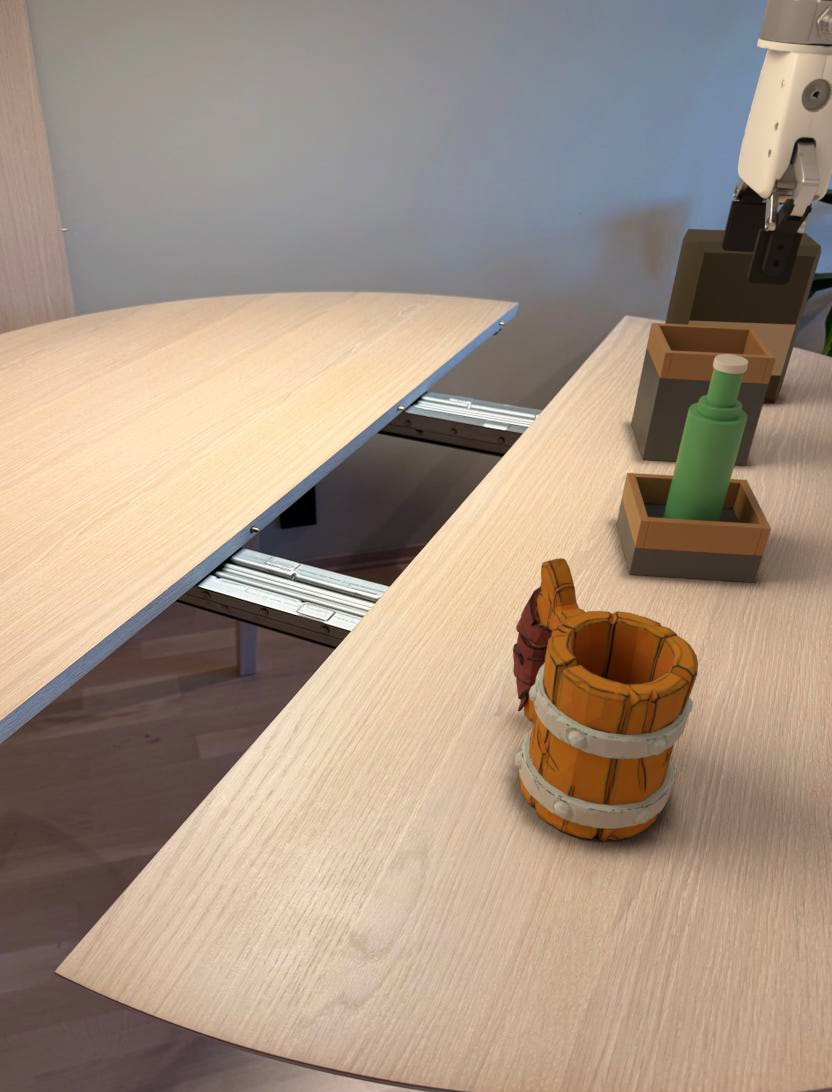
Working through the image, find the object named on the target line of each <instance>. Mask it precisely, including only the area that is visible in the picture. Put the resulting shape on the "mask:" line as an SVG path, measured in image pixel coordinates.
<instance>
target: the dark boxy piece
mask: <svg viewBox="0 0 832 1092" xmlns="http://www.w3.org/2000/svg"><path fill="white" fill-rule="evenodd" d="M762 202H766V201H762ZM779 206H780V203H778V208H779ZM724 232H725V229H705V228H704V229H702V228H701V229H700V228H688V229H687V231H686V232H685V235H684V236H683V238H682V242H681V247H680V251H679V256H678V261H677V265H676V271H675V275H674V280H673V284H672V289H671V294H670V299H669V303H668V307H667V313H666V317H665V322H664V323H666V324H686V325H707V326H727V327H747V328H755V330H756V331H757V332H758V334H759V335H760V337H761V338H762V339H763V341H764V342H765V344H766V345H767V346H768V348H769V349H770V351H771V352H772V353H773V355H774V356H775V358H776V360H775V363H774V367H773V370H772V374H771V377H770V381H769V385H768V388H767V392H766V395H765V399H764V402H769V403H770V402H771V403H776V402H777V400H778V398H779V395H780V394H781V391H782V388H783V384H784V380H785V377H786V374H787V371H788V367H789V364H790V361H791V358H792V357H791V356H792V354H793V350H794V347H795V343H796V339H797V337H798V333H799V329H800V326H801V322H802V319H803V316H804V314H805V313H804V312H805V309H806V307H807V302H808V300H809V296H810V293H811V289H812V286H813V282H814V279H815V275H816V272H817V269H818V264H819V261H820V258H821V254H822V246H821V244H820V243H818V242H817V241H816V240H815V239H813V238H812V237H811V236H810V235H808V234H807V233H806V232H803V235H802V238H801V242H800V245H799V249H798V252H797V256H796V259H795V263H794V266H793V270H792V273H791V277H790V280H789V282H788V283H787V284H785V285H777V284H759V283H750V282H749V281H748V279H747V275H748V271H749V267H750V263H751V259H752V255H753V252H740V251H725V250H724V249H723V248H722V246H721V244H722V240H723V236H724Z"/></svg>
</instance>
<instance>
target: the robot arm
mask: <svg viewBox="0 0 832 1092" xmlns="http://www.w3.org/2000/svg"><path fill="white" fill-rule="evenodd" d="M763 13H764V14H763V17H762V21H761V27H760V30H759V35H758V39H757V43H756V47H758V48H760V49H767V50H766V54H765V58H764V61H763V63H762V67H761V70H760V72H759V77H758V81H757V84H756V87H755V91H754V95H753V98H752V102H751V106H750V110H749V114H748V118H747V120H746V121H747V122H746V124H745V129H744V133H743V138H742V142H741V146H740V152H739V156H738V163H737V174H738V176H739V178H738V181H737V182H736V185H735V187H734V190H733V197H732V198H733V200H731V203H730V207H729V212H728V215H727V219H726V223H725V228H724V230H725V232H724V236H723V240H722V244H721V246H722V248H723V249H724V250H725V251H740V252H753V255H752V259H751V263H750V267H749V271H748V275H747V279H748V281H749V282H750V283H759V284H777V285H785V284H787V283H788V282H789V280H790V277H791V273H792V270H793V266H794V263H795V259H796V256H797V252H798V249H799V245H800V242H801V238H802V235H803V233H805V230H806V228H807V223H808V216H809V214H811V212H812V210H813V207H812V206H813V203H812V202H818V201H820V200H822V199H823V198H824V197H825V195H826V194H827V193H828V188H829V185H830V182H831V178H832V0H767V1H766V4H765V9H764V12H763ZM762 201H766V202H762ZM778 203H779V204H782V205H781V207H780V209H779V207H778Z"/></svg>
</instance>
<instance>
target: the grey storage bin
mask: <svg viewBox="0 0 832 1092" xmlns="http://www.w3.org/2000/svg"><path fill="white" fill-rule="evenodd" d="M721 354H732V355H737V356H741V357H743V358H745V359H747V360H748V366H747V370H746V371H745V372H744V374H743V378H742V382H741V386H740V390H739V393H738V397H737V400H738V401H740V402H741V403H742V410H743V411H744V412H745V413H746V414H747V421H746V425H745V428H744V432H743V436H742V439H741V443H740V447H739V450H738V454H737V457H736V461H735V465H734V466H746V465H747V462H748V458H749V455H750V451H751V448H752V445H753V441H754V437H755V434H756V431H757V427H758V424H759V420H760V418H761V417H760V416H761V412H762V410H763V406H764V402H765V401H764V399H765V395H766V392H767V388H768V385H769V381H770V377H771V374H772V370H773V367H774V363H775V360H776V358H775V356H774V355H773V353H772V352H771V351H770V349H769V348H768V346H767V345H766V344H765V342H764V341H763V339H762V338H761V337H760V335H759V334H758V332H757V331H756V330H755V328H747V327H727V326H707V325H686V324H666V323H665V322H664V323H663V322H651V323H650V329H649V334H648V339H647V343H646V348H645V353H644V358H643V363H642V368H641V374H640V378H639V383H638V388H637V393H636V399H635V402H634V403H635V404H634V407H633V412H632V413H633V414H632V418H631V421H630V424H631V425H630V426H631V429H632V432H633V435H634V438H635V441H636V444H637V447H638V450H639V454H640V457H641V460H643V461H657V462H658V461H659V462H675V463H676V461H677V457H678V453H679V449H680V444H681V440H682V436H683V432H684V427H685V423H686V419H687V415H688V410H689V407H690V406H691V405H693V404H695V403H698V402H699V399H700V398H701V397H702V396H705V395H707V394H708V390H709V386H710V382H711V378H712V374H713V370H714V367H713V362H714V358H715V357H716V356H717V355H721Z"/></svg>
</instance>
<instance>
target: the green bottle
mask: <svg viewBox="0 0 832 1092" xmlns="http://www.w3.org/2000/svg"><path fill="white" fill-rule="evenodd" d="M747 366H748V360H747V359H745V358H743V357H741V356H737V355H732V354H721V355H717V356H716V357H715V358H714V362H713V367H714V370H713V374H712V378H711V382H710V386H709V390H708V394H707V395H705V396H702V397H701V398H700V399H699V402H698V403H695V404H693V405H691V406H690V407H689V410H688V415H687V419H686V423H685V427H684V432H683V436H682V440H681V444H680V449H679V453H678V457H677V461H676V462H675V465H674V470H673V474H672V475H673V478H672V482H671V487H670V491H669V495H668V499H667V504H666V508H665V512H664V516H663V518H669V519H685V520H702V521H718V522H719V519H720V516H721V512H722V508H723V505H724V501H725V497H726V494H727V490H728V486H729V483H730V479H732V475H733V471H734V468H735V466H736V465H735V461H736V457H737V454H738V450H739V447H740V443H741V439H742V436H743V432H744V428H745V425H746V421H747V414H746V413H745V412H744V411H743V410H742V403H741V402H740V401H738V400H737V397H738V393H739V390H740V386H741V382H742V378H743V374H744V372H745V371H746V370H747Z"/></svg>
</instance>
